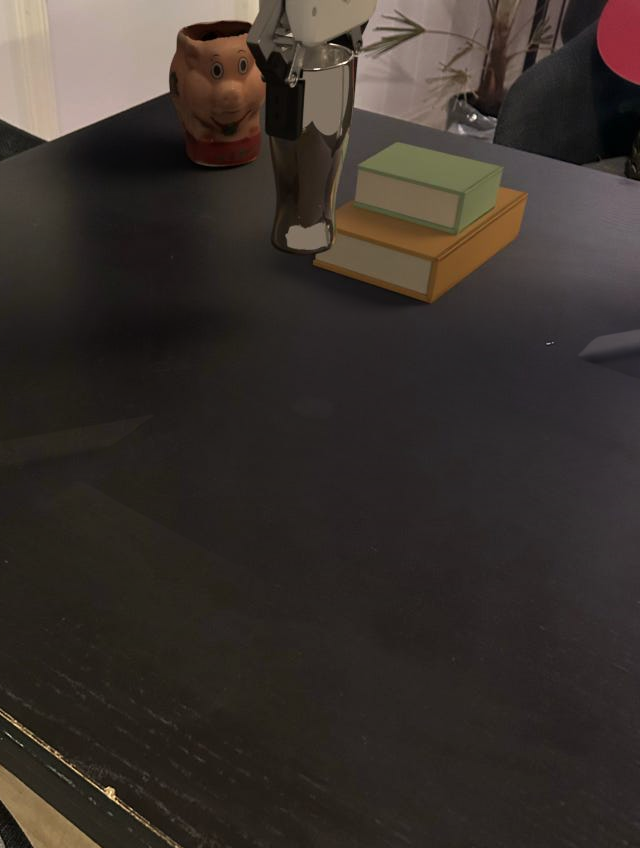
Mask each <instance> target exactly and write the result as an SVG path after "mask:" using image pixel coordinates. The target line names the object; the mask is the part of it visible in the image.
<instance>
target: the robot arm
mask: <svg viewBox="0 0 640 848" xmlns="http://www.w3.org/2000/svg"><path fill="white" fill-rule="evenodd" d="M377 3H378V0H258V12H257V15H256V17H255V18H254V21H253V22H252V24H253V25H252V27H251V29H250V31H249V33H248V35H247V38H246V44H247V46H248V48H249V50H250V52H251V54H252V55H253V57H254V59H255V64H256V66H257V68H258V69H259V71H260V72H261V80H262V82H264V83H266V97H265V100H264V102H265V103H264V104H265V105H264V107H265V109H264V132H265V134H266V135H267V136H268V137H269V136H273V137H277V138H281V139H286V140H290V141H295V140H297V139H299V137H300V133H301V112H302V87H303V85H300V84H297V81H298V77H299V74H300V70H301V66H302V63H303V59H304V56H305V52H306V48H307V47H316V46H319V45H321V44H323V43H332V44H338V45H343V46H346V47H348V48H350V49H351V50H353V52H354V54H355V56H354V96H353V108H355V100H356V99H355V96H356V85H357V73H358V62H359V57H358V56H359V55H361V52H362V50H363V47H364V40H363V35H364V32H365V30H366V28H367V27H368V24H369V21H370V19H372V17H373V15H374V14H375V12H376V10H377ZM290 34H291V35H292V36H289V35H290ZM283 48H289V49H292V50H291V53H290V57H289V61H288V64H287V63H286V61H285V60H284V58H283V57H282V55H281V51H282V49H283Z"/></svg>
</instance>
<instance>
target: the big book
mask: <svg viewBox="0 0 640 848" xmlns="http://www.w3.org/2000/svg"><path fill="white" fill-rule="evenodd" d="M528 195H529V193H527V192H524V191H520V190H516V189H512V188H507V187H504V186H500V185H499V190H498V194H497V199H496V203H495V208H494V209H493V210H492V211H490V212H489V213H487V214H486V215H485V216H483V217H482V218H481V219H479V220H478V221H476V222H475V223H474V224H472V225H471V226H469V227H468V228H467V229H465V230H464V231H463V232H461V233H460V234H458V235H455V234H451V233H448V232H444V231H441V230H437V229H434V228H430V227H426V226H423V225H419V224H416V223H412V222H409V221H405V220H402V219H398V218H395V217H391V216H387V215H384V214H380V213H377V212H373V211H370V210H366V209H363V208H359V207H356V206H353V202H354V201H355V197H354V198H353V199H351V200H350V201H347V202H346V203H344V204H343V205H340V207H338V208H335V216H336V226H337V242H336V244H335V245H334V246H333V247H332V248H331V249H329V250H327V251H325V252H322V253H319V254H315V259H313V261H312V265H313V266H315V267H318V268H320V269H321V268H322V269H323V270H328V271H331V272H334V273H335V274H340V275H343V276H345V277H348V278H351V279H355V280H358V281H361V282H364V283H367V284H370V285H373V286H376V287H380V288H381V289H385V290H389V291H391V292H395V293H398V294H401V295H404V296H407V297H410V298H413V299H416V300H419V301H423V302H425V303H428V304H432V303H434V302H436V301H437V300H438V299H439V298H440V297H442V296H443V295H445V294H446V293H447V292H448V291H449V290H451V289H452V288H453V287H454V286H456V285H457V284H458V283H460V282H461V281H462V280H464V279H465V278H466V277H468V276H469V275H470V274H472V273H473V272H474V271H475V270H477V269H478V268H479V267H480V266H482V265H483V264H484V263H486V262H487V261H488V260H490V259H491V258H493V256H494V255H496V254H498V252H500V251H501V250H502V249H504V248H505V247H506V246H507V245H509V244H511V242H513V241H514V240H515V239H516V238H518V236H519V232H520V229H521V224H522V220H523V216H524V213H525V208H526V204H527V201H528Z"/></svg>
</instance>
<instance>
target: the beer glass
mask: <svg viewBox="0 0 640 848" xmlns="http://www.w3.org/2000/svg"><path fill="white" fill-rule="evenodd" d="M291 50H292V49H289V48H283V47H282V51H281V55H282V57H283V58H284V60H285V61H286V63H287V64H288V61H289V57H290V53H291ZM354 56H355V57H356V55H355V54H354V52H353V50H351V49H350V48H348V47H346V46H343V45H338V44H332V43H323V44H321V45H319V46H316V47H307V48H306V52H305V56H304V59H303V63H302V66H301V70H300V74H299V77H298V81H297V84H300V85H303V87H302V112H301V133H300V137H299V139H297V140H295V141H290V140H286V139H281V138H277V137H273V136H269V135H268V138H269V139H268V141H269V150H270V156H271V165H272V172H273V178H274V187H275V188H274V189H275V211H274V212H275V213H274V219H273V223H272V227H271V232H270V233H271V234H270V244H271V245H272V247H273V248H274V249H275V250H277V251H278V252H281V253H284V254H287V255H291V256H314V255H316V254H319V253H322V252H325V251H327V250H329V249H331V248H332V247H333V246H334V245H335V244H336V242H337V226H336V216H335V210H336V201H337V193H338V188H339V183H340V179H341V174H342V171H343V167H344V162H345V159H346V154H347V150H348V144H349V141H350V140H349V139H350V135H351V129H352V120H353V112H354V111H353V110H354V107H353V96H354Z"/></svg>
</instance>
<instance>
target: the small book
mask: <svg viewBox="0 0 640 848" xmlns="http://www.w3.org/2000/svg"><path fill="white" fill-rule="evenodd" d="M356 170H357V178H356V188H355V194H354V195H355V197H354V198H355V201H354V202H353V206H356V207H359V208H363V209H366V210H370V211H373V212H377V213H380V214H384V215H387V216H391V217H395V218H398V219H402V220H405V221H409V222H412V223H416V224H419V225H423V226H426V227H430V228H434V229H437V230H441V231H444V232H448V233H451V234H455V235H458V234H460V233H461V232H463V231H464V230H465V229H467V228H468V227H469V226H471V225H472V224H474V223H475V222H476V221H478V220H479V219H481V218H482V217H483V216H485V215H486V214H487V213H489V212H490V211H492V210H493V209H494V208H495V203H496V199H497V194H498V190H499V186H500V185H501V180H502V176H503V172H504V166H500V165H496V164H493V163H488V162H484V161H479V160H476V159H472V158H471V159H470V158H468V157H463V156H458V155H455V154H450V153H446V152H442V151H437V150H434V149H429V148H425V147H420V146H416V145H413V144H409V143H408V144H407V143H404V142H399V141H396V142H395V143H392V144H391V145H389V146H388V147H386V148H384V149H382V150H380V151H379V152H378V153H376V154H374V155H372V156H371V157H369V158H367V159H366V160H364V161H361V163H358V164H357V165H356Z"/></svg>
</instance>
